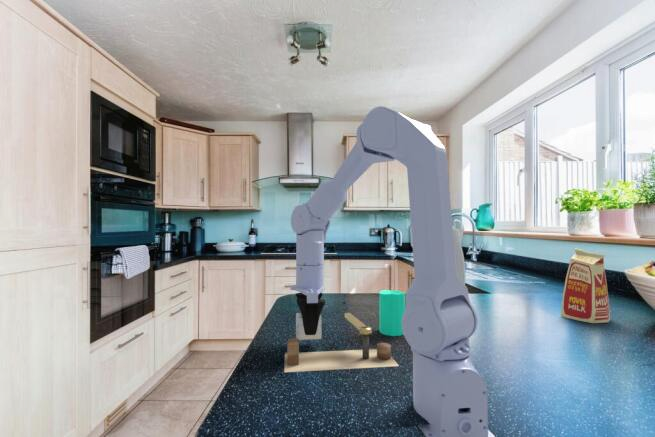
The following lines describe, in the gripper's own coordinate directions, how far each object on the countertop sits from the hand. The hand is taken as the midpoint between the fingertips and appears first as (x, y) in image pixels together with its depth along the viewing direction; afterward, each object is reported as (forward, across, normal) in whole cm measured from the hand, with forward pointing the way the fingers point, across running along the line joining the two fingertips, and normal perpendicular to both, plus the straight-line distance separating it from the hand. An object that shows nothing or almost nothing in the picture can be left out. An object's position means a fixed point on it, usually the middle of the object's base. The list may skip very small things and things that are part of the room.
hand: (309, 330), depth 63 cm
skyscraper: (+5, -12, +38) cm, 40 cm away
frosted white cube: (+1, 0, 0) cm, 1 cm away
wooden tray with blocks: (+4, +7, +5) cm, 10 cm away
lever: (-1, +2, +9) cm, 10 cm away
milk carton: (+4, -15, +81) cm, 82 cm away
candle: (+5, -7, +20) cm, 22 cm away
